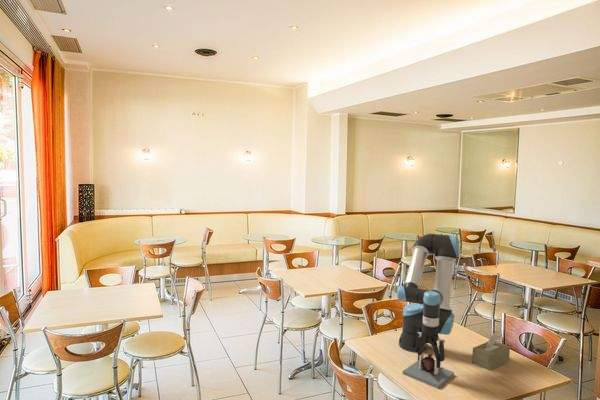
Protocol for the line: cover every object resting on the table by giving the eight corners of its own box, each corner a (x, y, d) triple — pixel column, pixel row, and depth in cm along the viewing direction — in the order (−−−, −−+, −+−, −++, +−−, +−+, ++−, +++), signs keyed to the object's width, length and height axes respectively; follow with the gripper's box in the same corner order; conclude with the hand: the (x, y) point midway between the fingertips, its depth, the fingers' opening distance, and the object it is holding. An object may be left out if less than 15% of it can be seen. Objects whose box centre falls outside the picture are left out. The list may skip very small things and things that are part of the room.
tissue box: (489, 371, 198) (491, 340, 197) (471, 362, 206) (473, 333, 205) (509, 361, 209) (511, 331, 208) (491, 353, 217) (493, 325, 216)
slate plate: (402, 373, 193) (402, 370, 193) (419, 362, 206) (419, 359, 205) (438, 388, 181) (438, 385, 181) (454, 375, 193) (454, 372, 193)
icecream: (439, 366, 185) (438, 354, 199) (423, 359, 187) (423, 348, 201) (435, 380, 185) (434, 367, 200) (419, 373, 187) (419, 361, 202)
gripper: (407, 320, 196) (405, 365, 197) (447, 332, 182) (445, 381, 183) (415, 316, 201) (413, 360, 203) (454, 328, 187) (452, 375, 189)
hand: (428, 370), depth 193 cm, fingers closed on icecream, 7 cm apart
